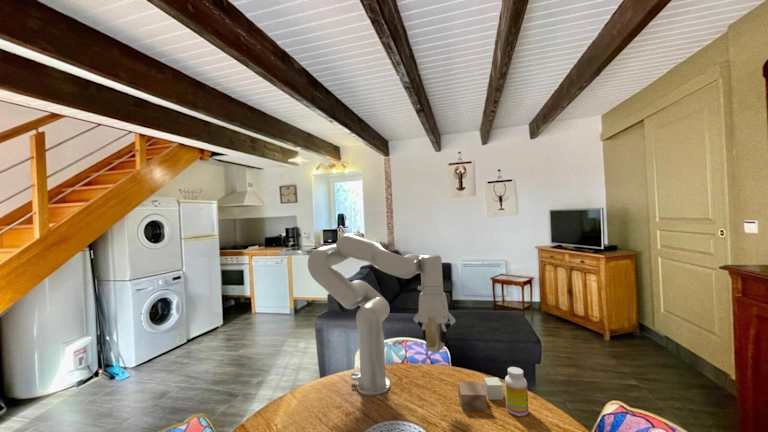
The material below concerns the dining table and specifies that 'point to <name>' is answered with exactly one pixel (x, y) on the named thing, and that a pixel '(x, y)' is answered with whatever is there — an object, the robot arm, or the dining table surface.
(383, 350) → the robot arm
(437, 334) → the skincare box
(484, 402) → the walnut block
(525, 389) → the supplement bottle
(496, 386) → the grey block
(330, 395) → the dining table surface
